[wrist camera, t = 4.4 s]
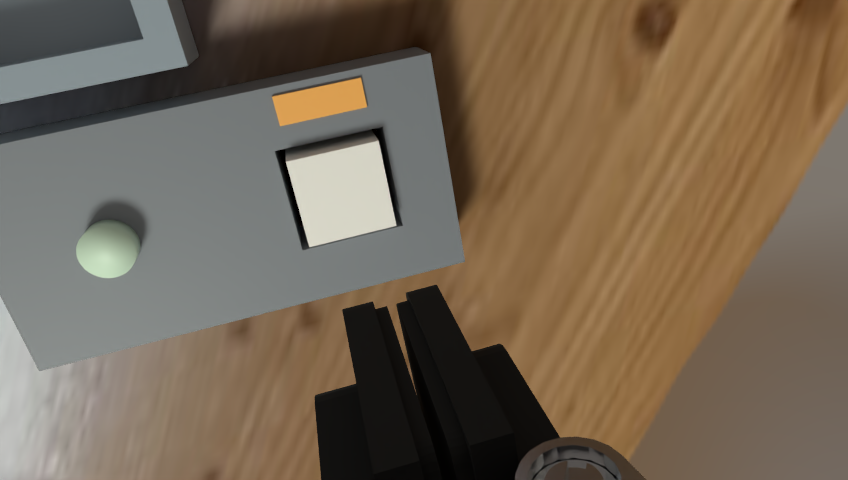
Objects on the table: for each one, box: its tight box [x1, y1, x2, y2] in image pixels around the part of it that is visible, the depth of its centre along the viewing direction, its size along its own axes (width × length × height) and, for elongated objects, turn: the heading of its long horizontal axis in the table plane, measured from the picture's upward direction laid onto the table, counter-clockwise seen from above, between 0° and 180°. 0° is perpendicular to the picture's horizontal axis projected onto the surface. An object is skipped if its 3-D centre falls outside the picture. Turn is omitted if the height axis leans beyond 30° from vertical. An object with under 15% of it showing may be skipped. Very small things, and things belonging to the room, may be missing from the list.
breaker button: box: [285, 130, 396, 247], centre depth 23 cm, size 3×3×2 cm
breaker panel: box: [0, 47, 465, 371], centre depth 23 cm, size 16×8×3 cm, turn 100°
